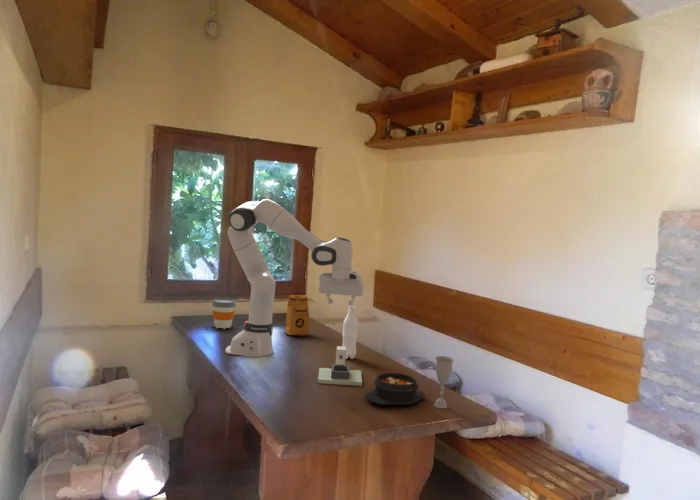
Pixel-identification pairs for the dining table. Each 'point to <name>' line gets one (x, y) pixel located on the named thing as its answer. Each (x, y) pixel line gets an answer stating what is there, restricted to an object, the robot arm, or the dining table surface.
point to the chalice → (443, 377)
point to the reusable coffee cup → (223, 312)
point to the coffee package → (297, 315)
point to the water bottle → (350, 333)
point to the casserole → (395, 390)
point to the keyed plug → (340, 355)
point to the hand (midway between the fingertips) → (340, 304)
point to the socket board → (340, 375)
